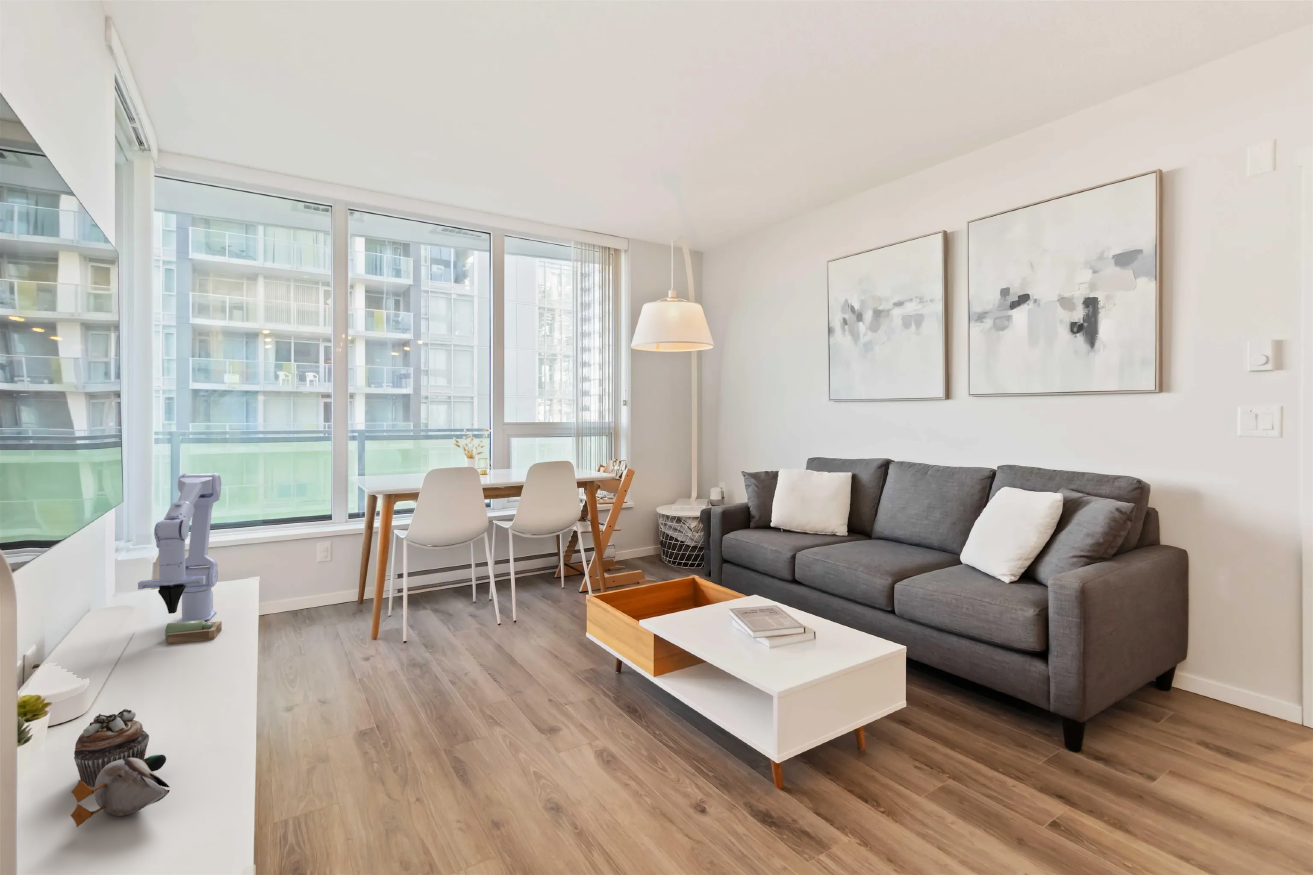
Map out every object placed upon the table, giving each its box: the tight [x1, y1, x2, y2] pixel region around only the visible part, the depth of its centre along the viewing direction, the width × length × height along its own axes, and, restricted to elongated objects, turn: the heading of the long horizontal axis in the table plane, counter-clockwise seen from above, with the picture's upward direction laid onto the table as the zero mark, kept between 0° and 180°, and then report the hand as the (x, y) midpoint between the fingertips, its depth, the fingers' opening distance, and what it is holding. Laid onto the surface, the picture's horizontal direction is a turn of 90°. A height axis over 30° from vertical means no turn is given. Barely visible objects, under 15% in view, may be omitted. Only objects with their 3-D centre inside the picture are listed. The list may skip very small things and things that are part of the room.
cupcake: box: [73, 708, 150, 788], centre depth 104 cm, size 10×10×10 cm
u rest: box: [167, 620, 223, 645], centre depth 171 cm, size 8×10×2 cm
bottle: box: [164, 620, 214, 641], centre depth 171 cm, size 4×4×10 cm
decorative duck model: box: [69, 754, 171, 828], centre depth 97 cm, size 15×8×15 cm
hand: (172, 612), depth 168 cm, fingers closed
